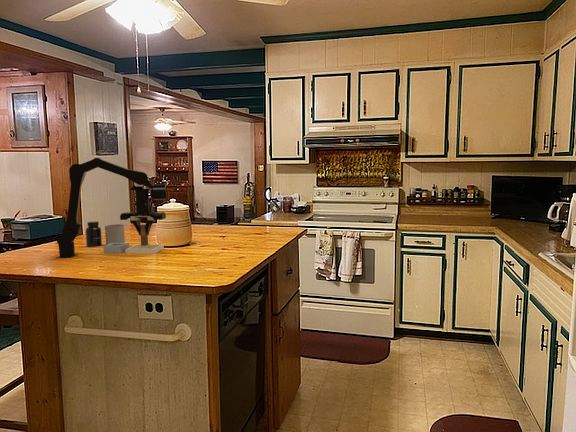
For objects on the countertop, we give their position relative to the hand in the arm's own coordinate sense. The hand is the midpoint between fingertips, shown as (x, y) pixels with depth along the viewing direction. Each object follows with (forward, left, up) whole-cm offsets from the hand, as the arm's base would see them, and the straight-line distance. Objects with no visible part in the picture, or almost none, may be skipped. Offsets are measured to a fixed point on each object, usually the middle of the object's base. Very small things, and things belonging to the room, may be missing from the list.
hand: (144, 235), depth 194 cm
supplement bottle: (+12, +29, -8) cm, 33 cm away
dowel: (0, 0, -4) cm, 4 cm away
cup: (+13, +19, -8) cm, 25 cm away
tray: (0, 0, -8) cm, 8 cm away
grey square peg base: (-1, +12, -8) cm, 15 cm away
